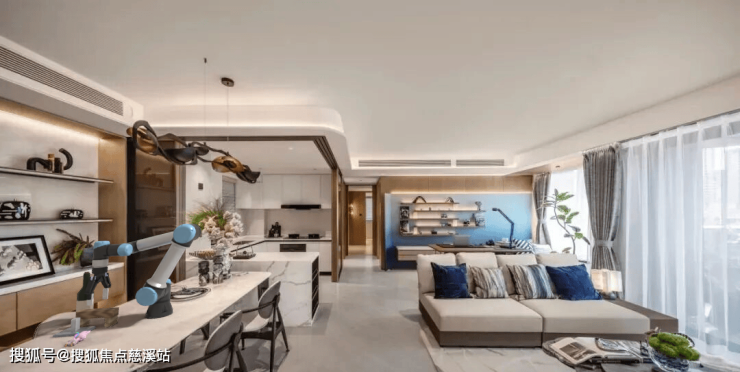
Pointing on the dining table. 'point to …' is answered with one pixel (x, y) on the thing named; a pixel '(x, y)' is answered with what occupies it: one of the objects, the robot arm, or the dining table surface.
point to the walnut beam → (97, 313)
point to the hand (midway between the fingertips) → (97, 302)
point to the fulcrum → (74, 329)
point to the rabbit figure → (77, 338)
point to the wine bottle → (81, 296)
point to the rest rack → (108, 321)
